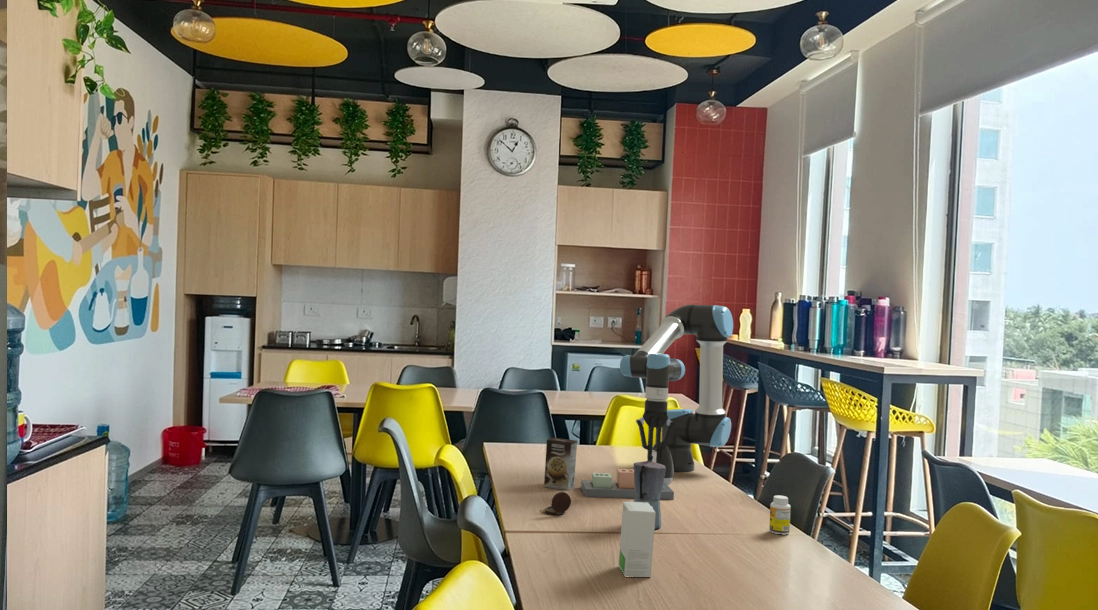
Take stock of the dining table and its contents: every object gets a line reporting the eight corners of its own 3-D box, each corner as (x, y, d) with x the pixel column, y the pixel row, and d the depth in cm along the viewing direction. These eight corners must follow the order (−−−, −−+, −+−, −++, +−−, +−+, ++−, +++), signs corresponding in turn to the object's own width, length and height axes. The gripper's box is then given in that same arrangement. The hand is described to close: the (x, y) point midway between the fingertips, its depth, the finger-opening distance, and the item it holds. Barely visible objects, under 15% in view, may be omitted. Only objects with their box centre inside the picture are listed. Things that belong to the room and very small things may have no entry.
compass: (558, 509, 242) (559, 485, 242) (571, 516, 235) (572, 491, 235) (534, 511, 238) (535, 487, 238) (546, 518, 231) (547, 493, 231)
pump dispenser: (672, 482, 288) (674, 440, 288) (674, 489, 278) (676, 445, 278) (643, 480, 289) (646, 438, 289) (644, 487, 279) (646, 443, 279)
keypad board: (665, 490, 275) (665, 483, 275) (673, 499, 262) (673, 492, 262) (581, 487, 273) (581, 480, 273) (585, 496, 260) (585, 488, 260)
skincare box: (618, 566, 191) (621, 500, 191) (645, 566, 192) (648, 501, 192) (624, 578, 183) (628, 509, 183) (653, 578, 183) (656, 510, 183)
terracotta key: (634, 484, 271) (634, 468, 271) (637, 488, 265) (638, 472, 265) (616, 483, 270) (617, 468, 270) (619, 487, 264) (620, 471, 265)
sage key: (608, 488, 270) (609, 472, 270) (611, 492, 264) (612, 476, 264) (591, 487, 270) (592, 472, 270) (593, 491, 264) (594, 476, 264)
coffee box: (543, 487, 271) (545, 439, 271) (550, 483, 277) (552, 436, 277) (568, 490, 268) (571, 442, 268) (575, 487, 274) (577, 439, 274)
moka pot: (667, 522, 233) (671, 453, 234) (657, 535, 219) (660, 462, 219) (635, 517, 237) (638, 450, 237) (622, 530, 222) (626, 458, 222)
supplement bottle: (770, 529, 232) (772, 493, 232) (790, 531, 230) (792, 496, 230) (768, 533, 227) (769, 497, 227) (788, 536, 225) (790, 500, 225)
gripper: (639, 400, 264) (635, 471, 264) (678, 402, 265) (674, 473, 265) (635, 397, 272) (631, 467, 271) (673, 399, 273) (669, 468, 272)
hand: (652, 470), depth 268 cm, fingers closed
